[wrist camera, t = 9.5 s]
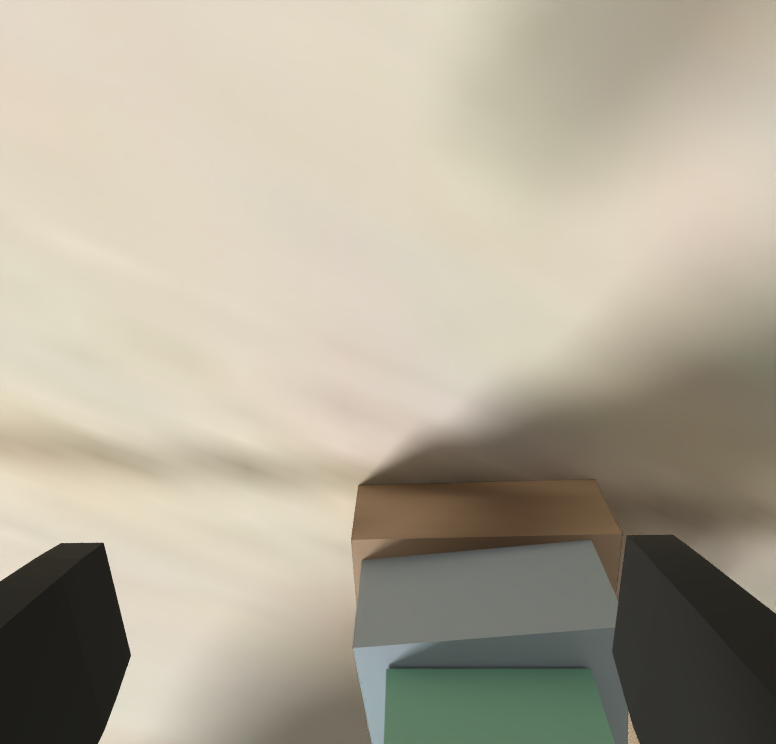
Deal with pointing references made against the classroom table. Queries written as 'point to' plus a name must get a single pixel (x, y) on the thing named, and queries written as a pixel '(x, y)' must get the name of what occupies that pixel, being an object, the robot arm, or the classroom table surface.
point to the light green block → (494, 707)
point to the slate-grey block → (488, 618)
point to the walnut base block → (481, 519)
